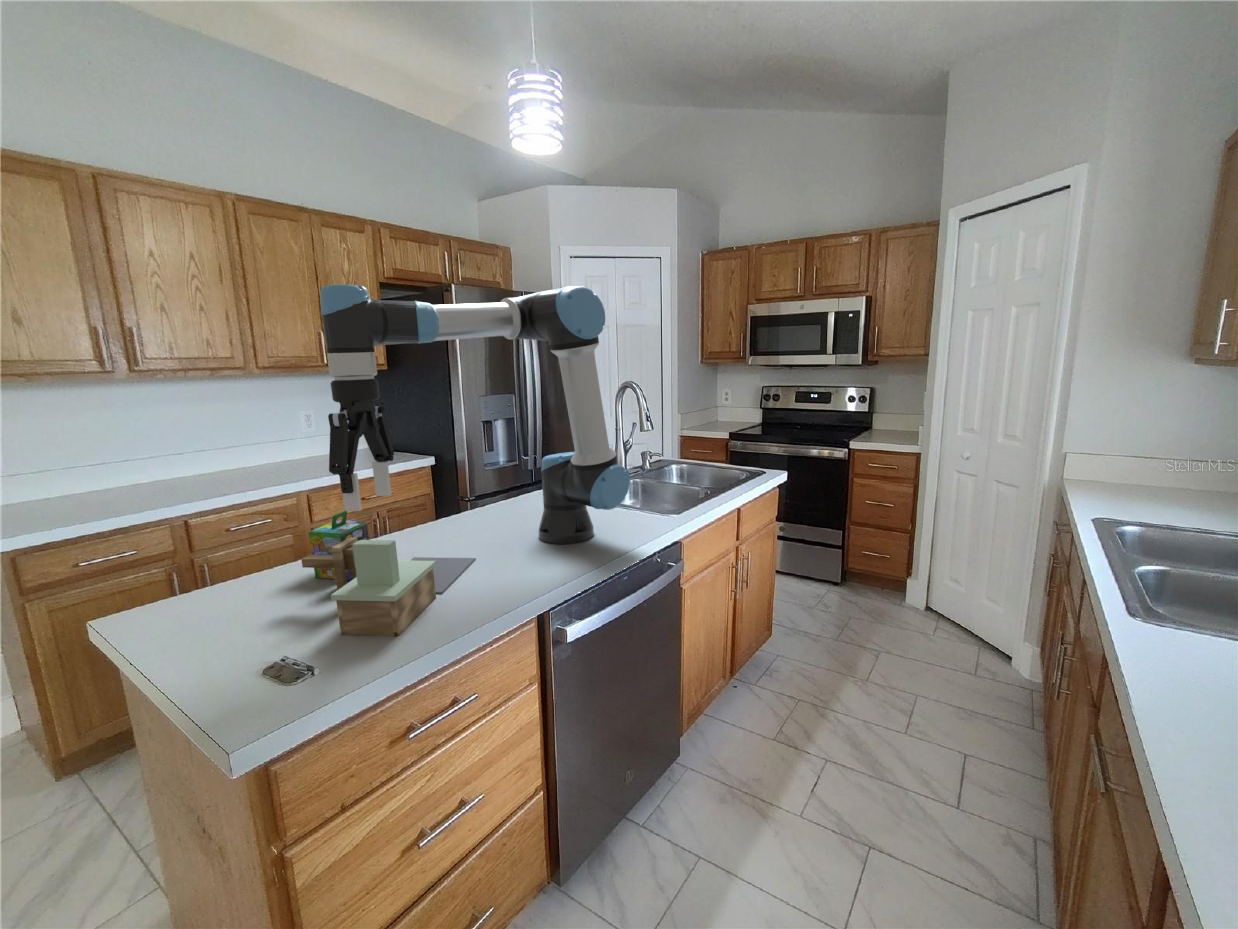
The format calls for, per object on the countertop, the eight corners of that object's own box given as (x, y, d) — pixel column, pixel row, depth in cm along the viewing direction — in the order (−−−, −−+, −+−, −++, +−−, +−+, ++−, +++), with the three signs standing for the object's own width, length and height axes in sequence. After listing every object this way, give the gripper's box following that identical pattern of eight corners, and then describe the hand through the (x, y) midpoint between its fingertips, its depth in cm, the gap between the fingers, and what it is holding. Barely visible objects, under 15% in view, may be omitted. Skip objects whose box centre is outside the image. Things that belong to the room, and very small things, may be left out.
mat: (475, 559, 136) (475, 558, 136) (442, 593, 117) (442, 592, 117) (414, 558, 138) (414, 557, 138) (371, 592, 119) (370, 590, 119)
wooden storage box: (398, 636, 99) (390, 566, 97) (311, 634, 101) (300, 565, 99) (436, 597, 115) (429, 536, 112) (360, 596, 117) (352, 536, 114)
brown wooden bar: (354, 568, 110) (351, 550, 109) (302, 567, 111) (299, 549, 110) (360, 563, 112) (358, 545, 111) (310, 563, 113) (307, 545, 113)
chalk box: (341, 564, 136) (333, 506, 133) (373, 566, 134) (366, 507, 131) (313, 578, 127) (304, 517, 125) (347, 581, 125) (339, 518, 122)
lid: (395, 601, 98) (389, 553, 96) (331, 600, 99) (325, 552, 97) (436, 565, 114) (432, 523, 112) (381, 564, 115) (376, 523, 114)
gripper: (368, 376, 107) (381, 488, 112) (290, 381, 86) (310, 520, 90) (405, 375, 106) (416, 488, 111) (336, 380, 85) (353, 520, 89)
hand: (369, 502), depth 100 cm, fingers open, 9 cm apart
